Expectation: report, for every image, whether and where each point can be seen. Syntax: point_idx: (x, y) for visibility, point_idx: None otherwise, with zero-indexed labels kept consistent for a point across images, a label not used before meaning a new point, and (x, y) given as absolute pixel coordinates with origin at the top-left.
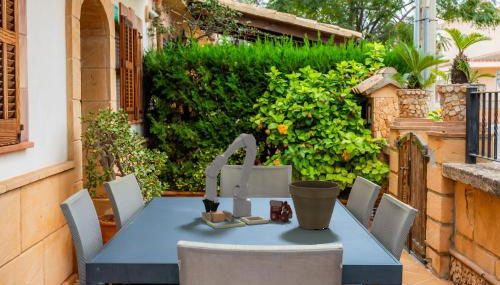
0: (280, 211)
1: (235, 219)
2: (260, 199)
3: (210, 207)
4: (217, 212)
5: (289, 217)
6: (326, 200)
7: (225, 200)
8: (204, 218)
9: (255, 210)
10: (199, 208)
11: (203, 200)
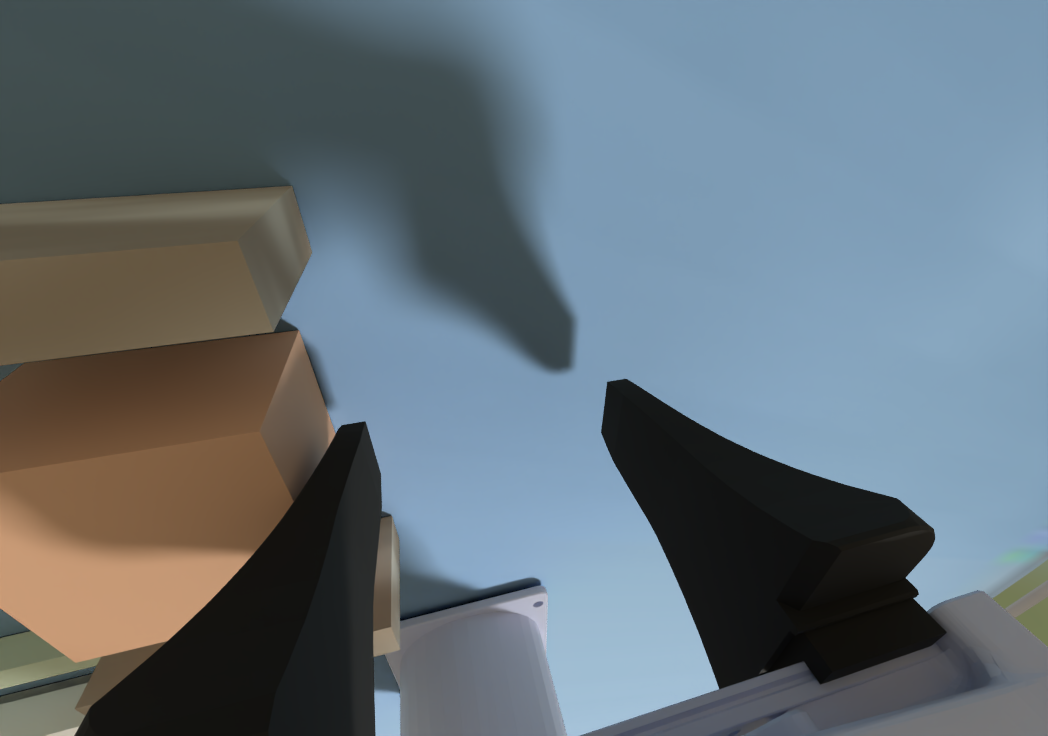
0: None
1: (62, 662)
2: None
3: (312, 553)
4: (159, 572)
5: None
6: None
7: (976, 566)
8: (90, 211)
9: (609, 694)
10: (990, 368)
11: (830, 547)
